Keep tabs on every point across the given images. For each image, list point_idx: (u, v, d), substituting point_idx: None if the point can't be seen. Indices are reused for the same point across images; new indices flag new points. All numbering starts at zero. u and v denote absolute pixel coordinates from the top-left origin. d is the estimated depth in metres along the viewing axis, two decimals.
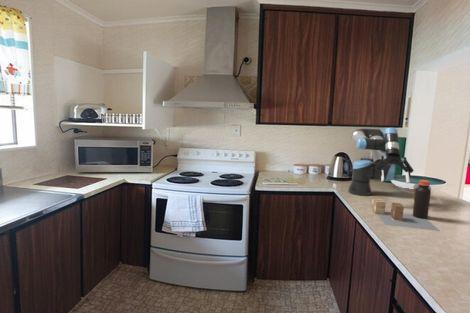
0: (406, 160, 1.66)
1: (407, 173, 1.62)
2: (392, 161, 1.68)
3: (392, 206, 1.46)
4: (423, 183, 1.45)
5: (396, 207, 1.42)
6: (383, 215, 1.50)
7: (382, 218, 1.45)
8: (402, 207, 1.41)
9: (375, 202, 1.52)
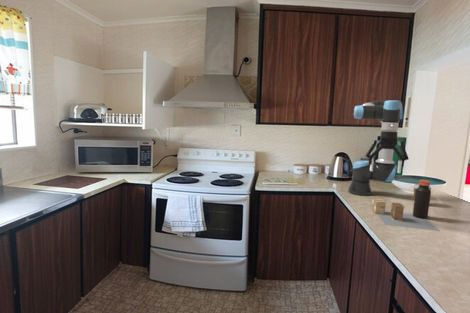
0: (403, 145, 1.39)
1: (400, 163, 1.40)
2: (386, 147, 1.41)
3: (392, 206, 1.46)
4: (423, 183, 1.45)
5: (396, 207, 1.42)
6: (383, 215, 1.50)
7: (382, 218, 1.45)
8: (402, 207, 1.41)
9: (375, 202, 1.52)
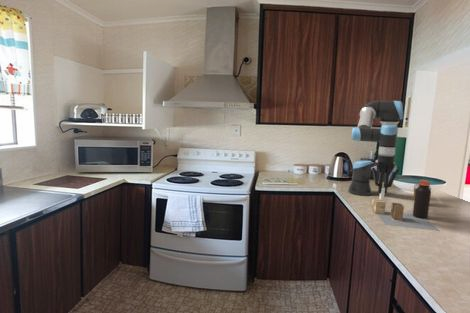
0: (396, 173, 1.41)
1: (383, 189, 1.43)
2: None
3: (392, 206, 1.46)
4: (423, 183, 1.45)
5: (396, 207, 1.42)
6: (383, 215, 1.50)
7: (382, 218, 1.45)
8: (402, 207, 1.41)
9: (375, 202, 1.52)
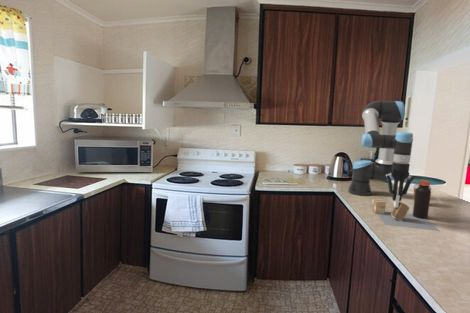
0: None
1: (398, 197, 1.42)
2: None
3: None
4: (423, 183, 1.45)
5: (402, 206, 1.41)
6: (383, 215, 1.50)
7: (382, 218, 1.45)
8: (407, 208, 1.40)
9: (375, 202, 1.52)
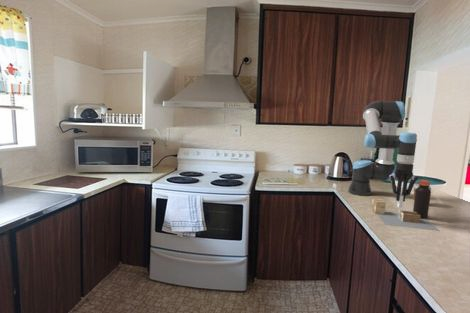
0: (414, 181, 1.40)
1: (401, 197, 1.42)
2: None
3: (413, 212, 1.44)
4: (423, 183, 1.45)
5: (418, 216, 1.40)
6: (383, 215, 1.50)
7: (382, 218, 1.45)
8: (418, 221, 1.40)
9: (375, 202, 1.52)
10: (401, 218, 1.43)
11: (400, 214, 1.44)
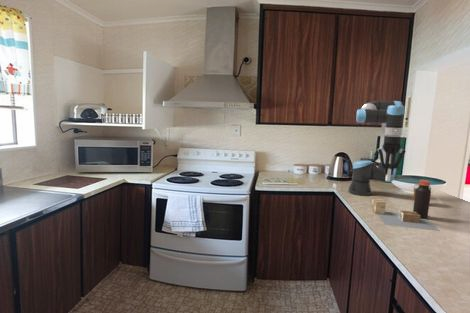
0: (402, 154, 1.39)
1: (389, 171, 1.42)
2: None
3: (413, 212, 1.44)
4: (423, 183, 1.45)
5: (418, 216, 1.40)
6: (383, 215, 1.50)
7: (382, 218, 1.45)
8: (418, 221, 1.40)
9: (375, 202, 1.52)
10: (401, 218, 1.43)
11: (400, 214, 1.44)
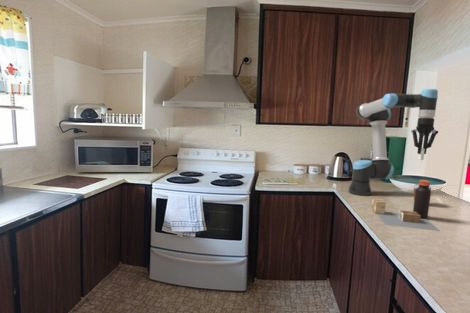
0: (435, 134, 1.51)
1: (423, 150, 1.53)
2: None
3: (413, 212, 1.44)
4: (423, 183, 1.45)
5: (418, 216, 1.40)
6: (383, 215, 1.50)
7: (382, 218, 1.45)
8: (418, 221, 1.40)
9: (375, 202, 1.52)
10: (401, 218, 1.43)
11: (400, 214, 1.44)
